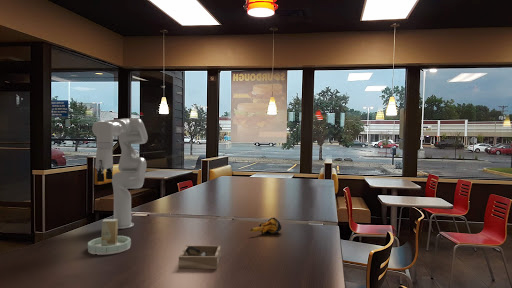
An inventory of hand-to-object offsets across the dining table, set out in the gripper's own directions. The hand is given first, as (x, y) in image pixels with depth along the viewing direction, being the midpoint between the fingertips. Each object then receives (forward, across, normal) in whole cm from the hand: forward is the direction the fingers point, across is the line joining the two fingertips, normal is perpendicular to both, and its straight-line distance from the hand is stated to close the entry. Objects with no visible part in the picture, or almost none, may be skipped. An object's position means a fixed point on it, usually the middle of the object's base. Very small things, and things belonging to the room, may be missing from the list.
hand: (105, 180), depth 173 cm
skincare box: (+29, +13, +8) cm, 33 cm away
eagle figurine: (+30, +32, +51) cm, 67 cm away
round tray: (+30, +13, +8) cm, 34 cm away
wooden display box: (+30, +30, +53) cm, 68 cm away
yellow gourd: (+30, -12, +81) cm, 88 cm away
